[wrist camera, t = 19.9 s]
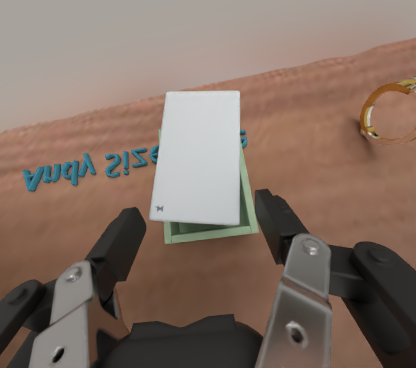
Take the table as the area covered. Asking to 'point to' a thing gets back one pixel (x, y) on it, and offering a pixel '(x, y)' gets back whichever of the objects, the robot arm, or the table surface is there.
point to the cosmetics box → (198, 159)
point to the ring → (365, 125)
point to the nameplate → (90, 167)
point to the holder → (197, 231)
